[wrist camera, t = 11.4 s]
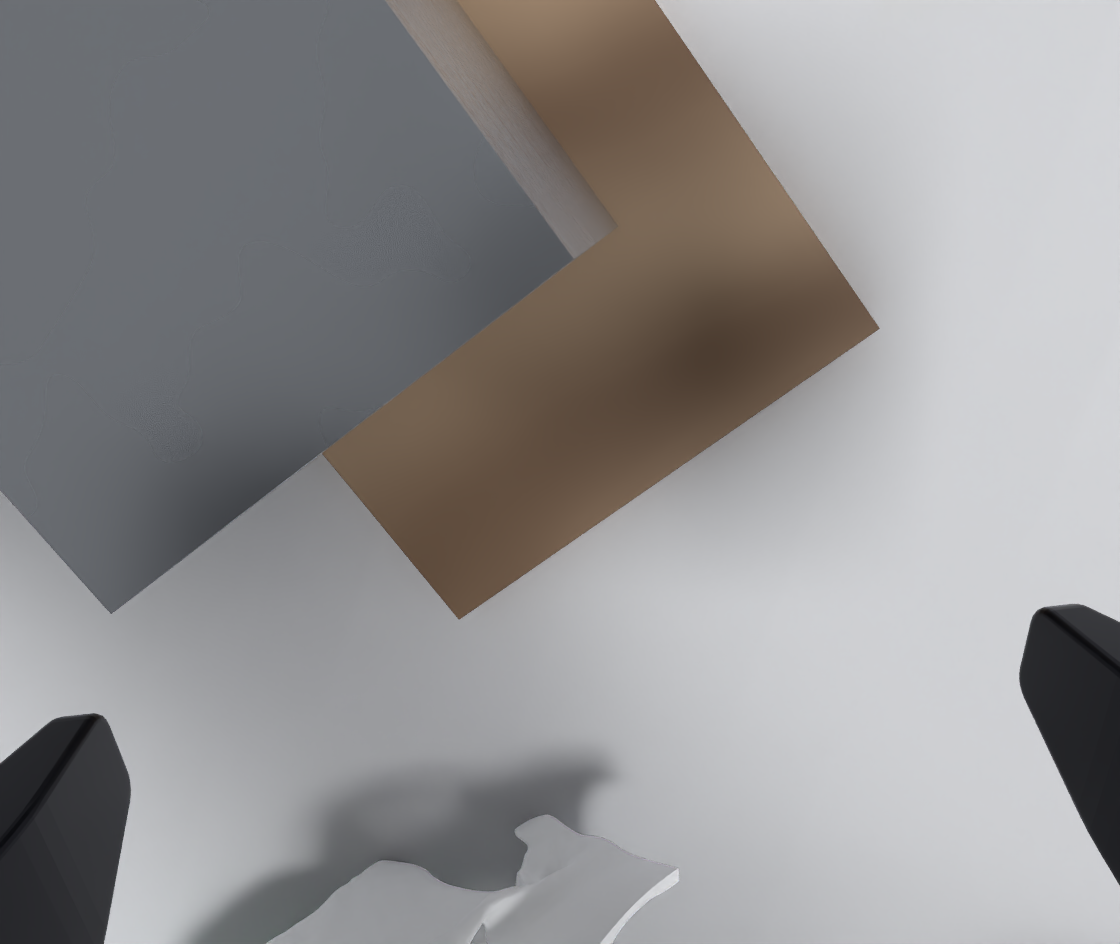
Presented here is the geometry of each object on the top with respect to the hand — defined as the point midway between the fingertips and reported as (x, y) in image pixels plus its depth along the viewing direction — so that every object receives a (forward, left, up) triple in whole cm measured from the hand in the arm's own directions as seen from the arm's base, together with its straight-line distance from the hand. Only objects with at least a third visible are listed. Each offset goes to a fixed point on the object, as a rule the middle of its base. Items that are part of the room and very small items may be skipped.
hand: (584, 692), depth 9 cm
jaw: (+5, -4, -11) cm, 13 cm away
